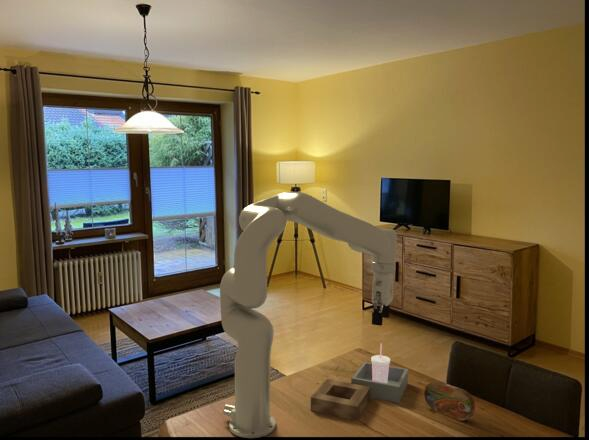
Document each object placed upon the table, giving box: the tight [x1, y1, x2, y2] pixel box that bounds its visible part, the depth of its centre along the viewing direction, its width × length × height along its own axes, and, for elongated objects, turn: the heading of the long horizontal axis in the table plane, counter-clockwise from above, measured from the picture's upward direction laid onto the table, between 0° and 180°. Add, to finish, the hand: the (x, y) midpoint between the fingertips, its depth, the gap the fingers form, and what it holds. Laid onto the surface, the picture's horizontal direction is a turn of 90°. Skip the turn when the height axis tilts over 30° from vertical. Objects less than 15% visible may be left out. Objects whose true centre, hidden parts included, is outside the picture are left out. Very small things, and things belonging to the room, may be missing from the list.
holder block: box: [310, 378, 371, 421], centre depth 142 cm, size 14×14×4 cm
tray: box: [350, 361, 409, 404], centre depth 153 cm, size 15×15×5 cm
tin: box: [423, 381, 476, 422], centre depth 137 cm, size 15×3×8 cm, turn 42°
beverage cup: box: [370, 342, 391, 383], centre depth 152 cm, size 6×6×14 cm
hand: (380, 320), depth 151 cm, fingers open, 9 cm apart
